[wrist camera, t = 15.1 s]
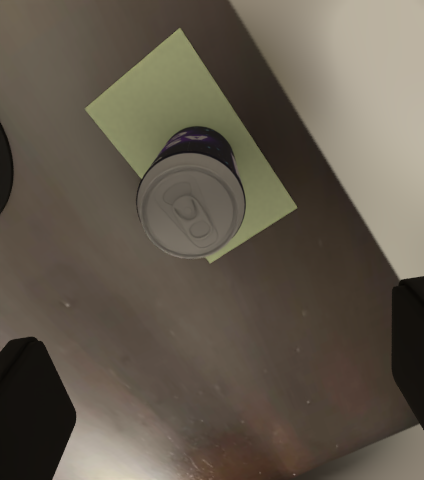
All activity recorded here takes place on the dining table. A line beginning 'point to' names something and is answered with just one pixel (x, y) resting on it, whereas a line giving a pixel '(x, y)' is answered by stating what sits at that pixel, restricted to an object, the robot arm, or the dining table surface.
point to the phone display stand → (5, 169)
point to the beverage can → (192, 195)
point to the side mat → (186, 126)
